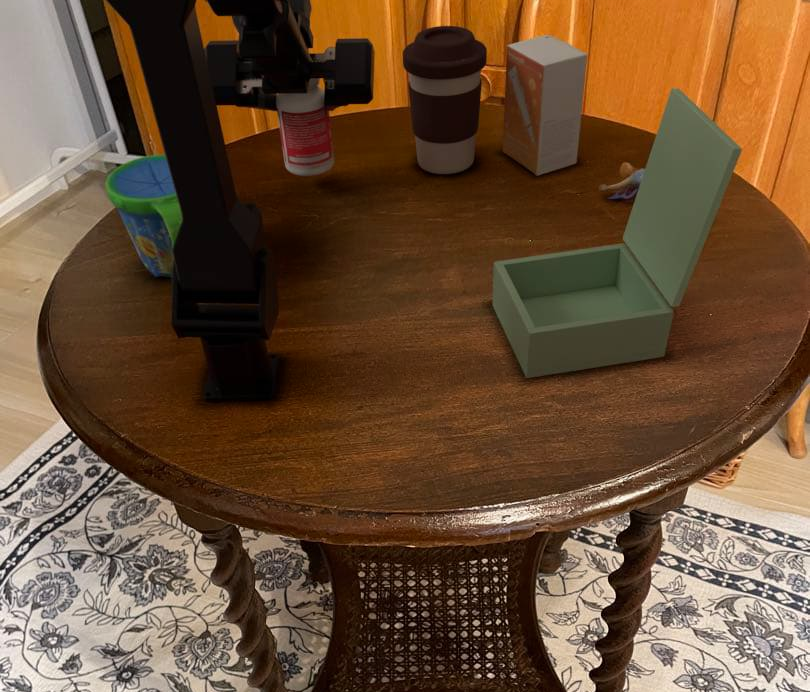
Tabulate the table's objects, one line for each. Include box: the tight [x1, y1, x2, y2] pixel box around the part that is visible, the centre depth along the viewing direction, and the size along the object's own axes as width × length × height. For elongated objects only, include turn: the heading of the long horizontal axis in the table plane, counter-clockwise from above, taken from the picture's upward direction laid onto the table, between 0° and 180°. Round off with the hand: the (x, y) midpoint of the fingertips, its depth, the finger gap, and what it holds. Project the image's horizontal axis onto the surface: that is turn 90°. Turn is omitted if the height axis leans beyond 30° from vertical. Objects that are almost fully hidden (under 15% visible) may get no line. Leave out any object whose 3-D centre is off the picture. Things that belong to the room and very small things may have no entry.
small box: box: [502, 34, 588, 176], centre depth 106 cm, size 8×6×13 cm
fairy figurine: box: [598, 161, 645, 200], centre depth 100 cm, size 12×5×12 cm
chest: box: [491, 242, 675, 379], centre depth 84 cm, size 14×13×5 cm
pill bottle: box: [276, 78, 335, 177], centre depth 103 cm, size 6×6×11 cm
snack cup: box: [105, 153, 182, 279], centre depth 94 cm, size 16×10×10 cm
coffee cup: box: [402, 25, 488, 175], centre depth 106 cm, size 10×10×15 cm
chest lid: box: [622, 87, 743, 308], centre depth 77 cm, size 14×13×1 cm
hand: (305, 106), depth 103 cm, fingers closed on pill bottle, 6 cm apart
